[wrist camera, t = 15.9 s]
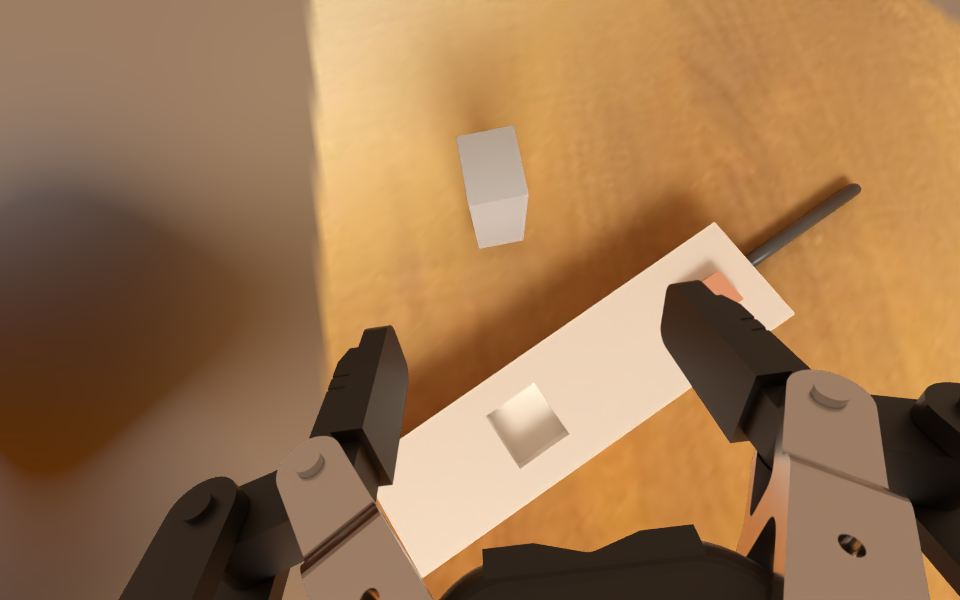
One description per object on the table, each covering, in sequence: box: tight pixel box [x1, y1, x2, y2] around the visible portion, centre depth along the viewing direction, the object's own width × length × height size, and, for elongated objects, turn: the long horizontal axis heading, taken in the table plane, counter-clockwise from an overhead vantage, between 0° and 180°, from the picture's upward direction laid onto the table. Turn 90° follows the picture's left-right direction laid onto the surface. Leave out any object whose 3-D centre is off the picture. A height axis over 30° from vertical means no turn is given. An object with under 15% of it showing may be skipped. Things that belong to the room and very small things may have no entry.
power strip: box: [377, 184, 861, 578], centre depth 27 cm, size 42×8×4 cm, turn 124°
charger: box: [456, 125, 529, 249], centre depth 27 cm, size 4×4×10 cm
